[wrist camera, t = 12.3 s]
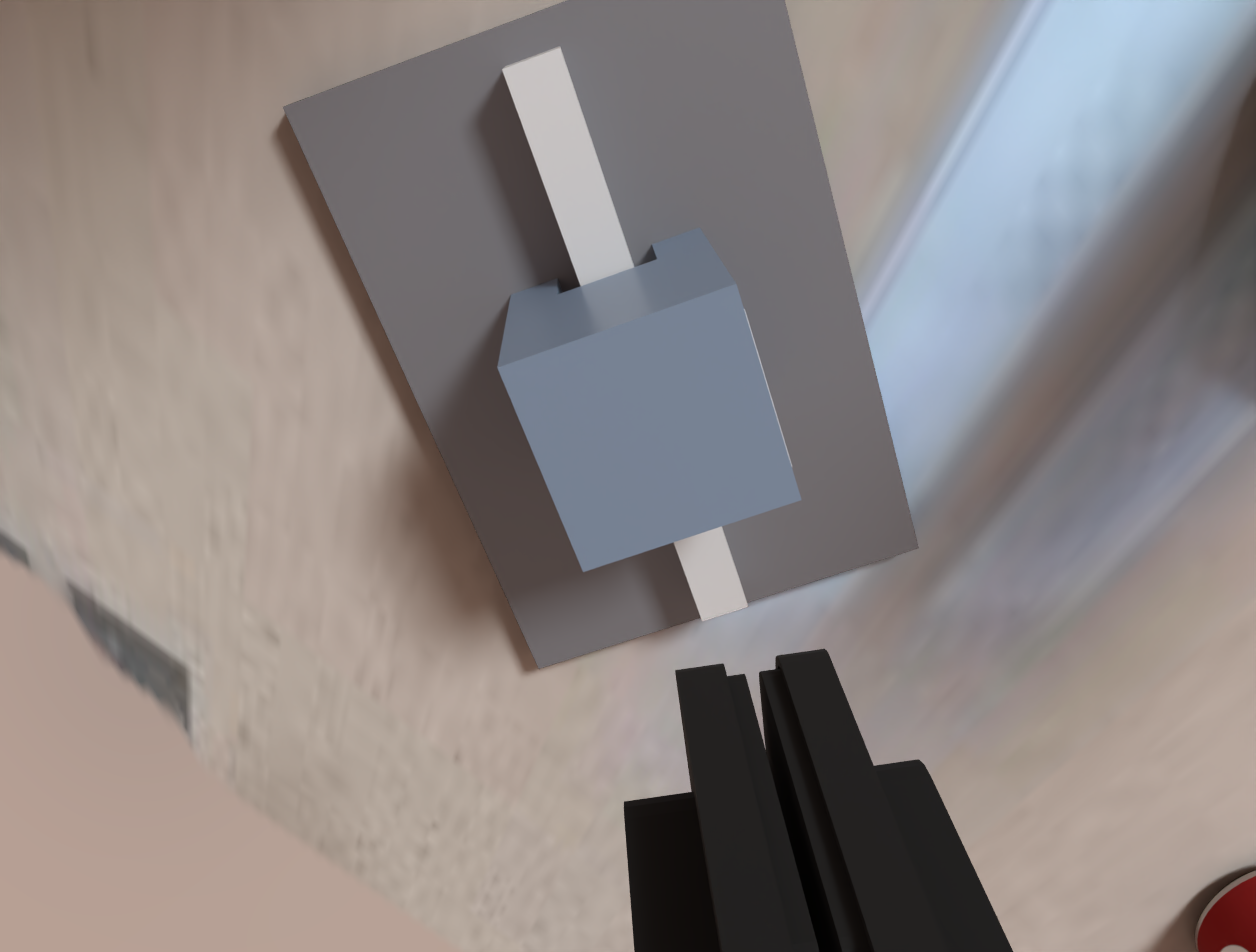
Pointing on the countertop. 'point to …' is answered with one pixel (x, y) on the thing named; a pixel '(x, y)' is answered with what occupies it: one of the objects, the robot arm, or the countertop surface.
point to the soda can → (1230, 919)
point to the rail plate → (668, 180)
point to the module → (646, 403)
